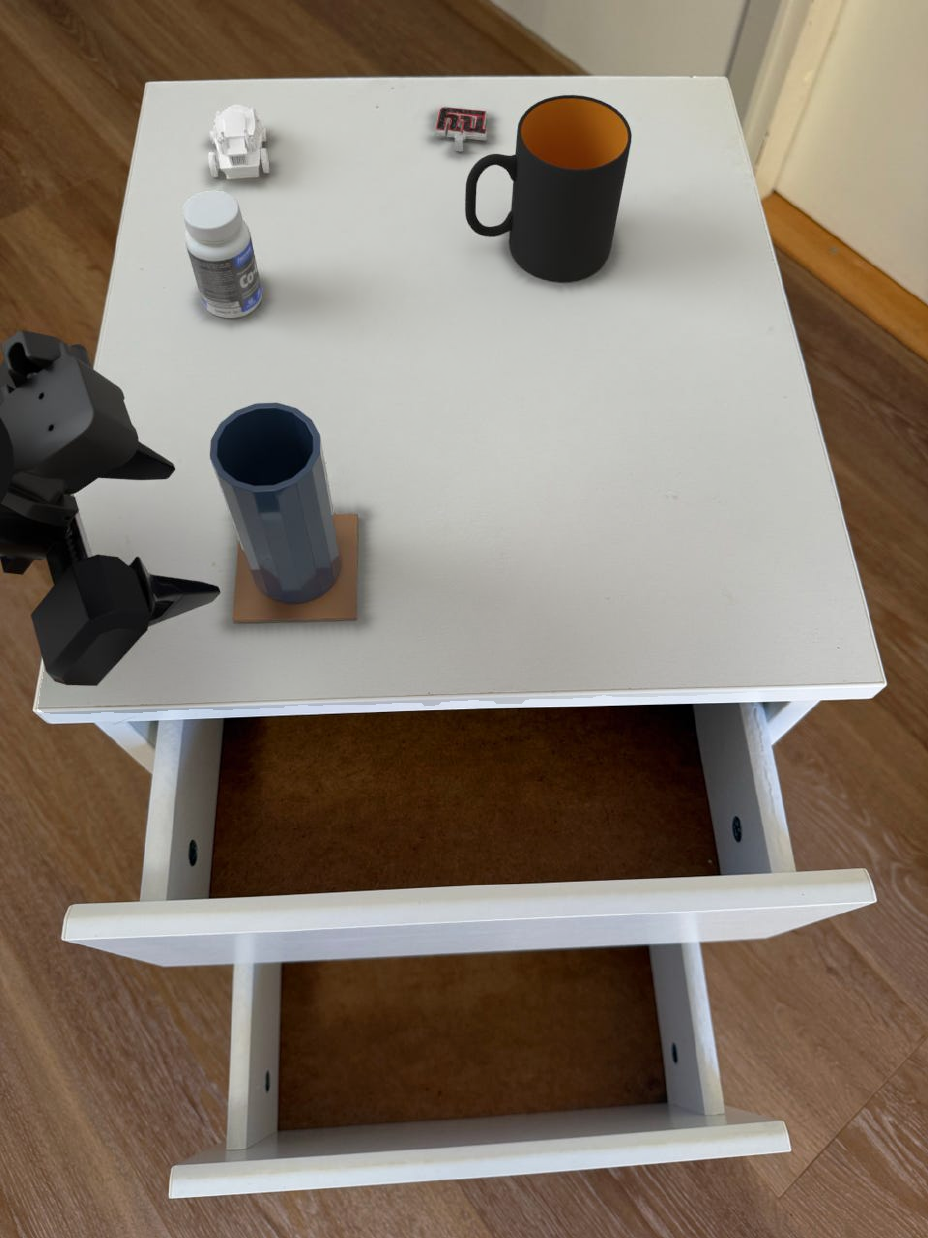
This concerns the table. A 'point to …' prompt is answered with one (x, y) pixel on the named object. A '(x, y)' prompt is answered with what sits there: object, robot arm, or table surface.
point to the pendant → (464, 119)
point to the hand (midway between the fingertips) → (193, 531)
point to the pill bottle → (221, 254)
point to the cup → (279, 500)
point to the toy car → (238, 143)
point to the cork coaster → (325, 608)
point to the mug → (561, 187)
